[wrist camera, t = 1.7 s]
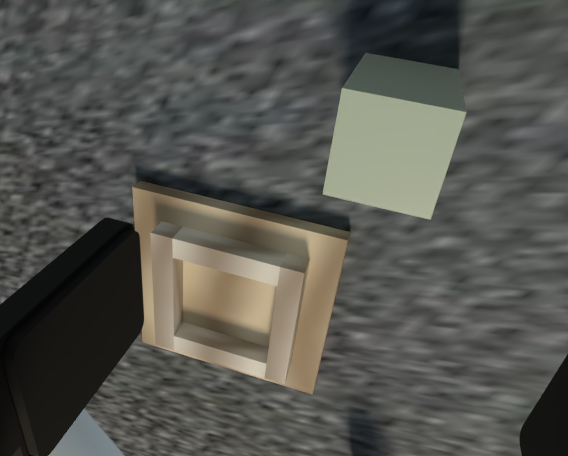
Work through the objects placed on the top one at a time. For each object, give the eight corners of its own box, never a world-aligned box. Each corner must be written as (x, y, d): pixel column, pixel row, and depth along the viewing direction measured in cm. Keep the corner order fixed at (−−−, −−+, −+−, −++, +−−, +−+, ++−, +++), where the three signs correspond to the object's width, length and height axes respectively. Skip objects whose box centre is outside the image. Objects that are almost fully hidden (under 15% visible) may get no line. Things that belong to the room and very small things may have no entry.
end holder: (350, 231, 28) (343, 254, 26) (315, 384, 36) (307, 410, 34) (140, 180, 31) (119, 197, 29) (148, 333, 38) (132, 355, 36)
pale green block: (458, 69, 22) (466, 112, 17) (431, 155, 25) (430, 219, 19) (365, 52, 23) (342, 88, 17) (348, 138, 26) (322, 194, 20)
